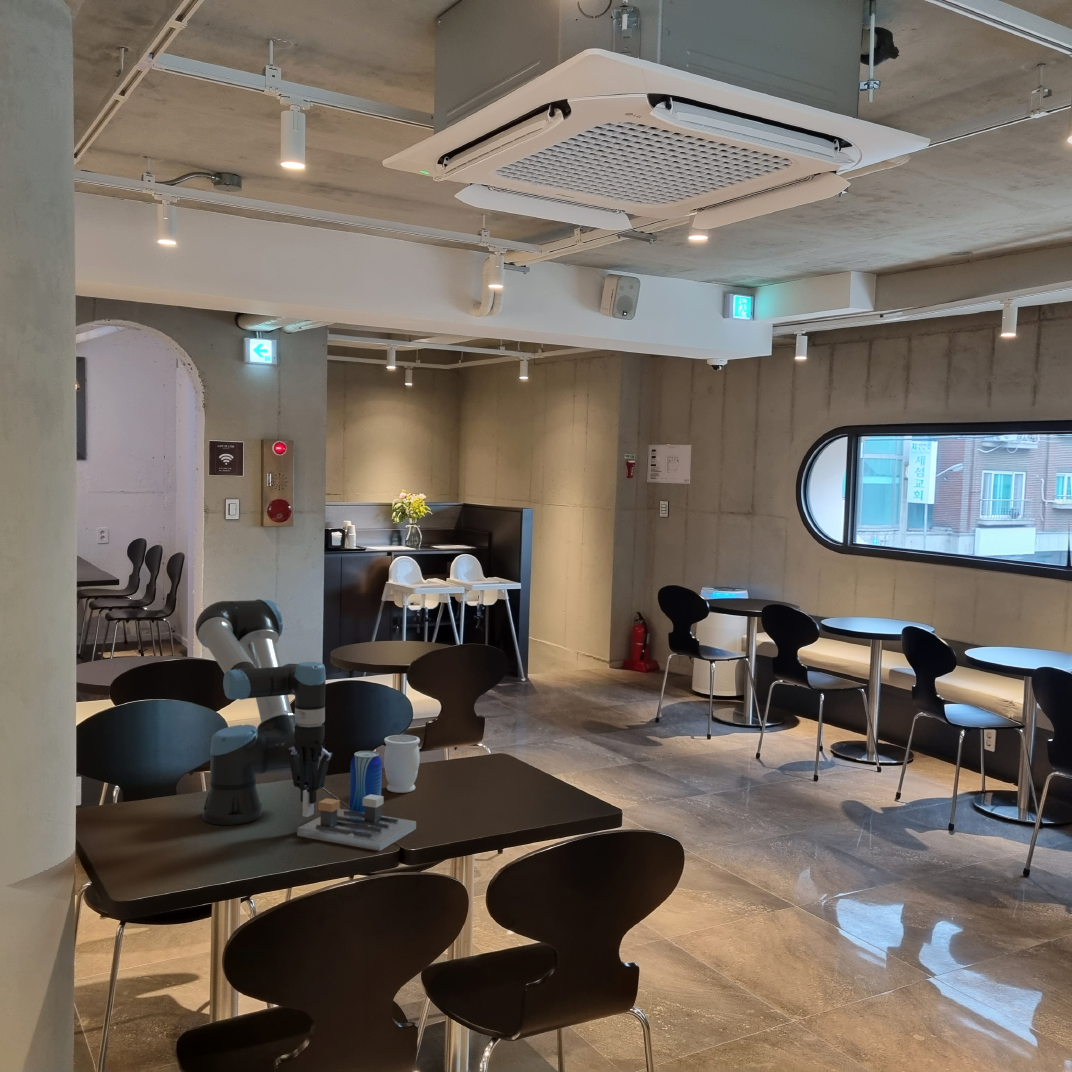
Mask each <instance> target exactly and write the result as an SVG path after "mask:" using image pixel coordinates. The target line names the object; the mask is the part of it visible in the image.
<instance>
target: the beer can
mask: <svg viewBox="0 0 1072 1072" xmlns="http://www.w3.org/2000/svg"><path fill="white" fill-rule="evenodd" d="M353 755H354V756H353V757H352V759H351V761H350V773H349V774H350V775H349V810H351V811H357V812H363V813H365V806H363V798H364V797H366V796H368V795H370V794H372V795H378V796H382V776H383V775H382V773H383V772H382V770H383V769H382V768H383V761H382V759H381V758H380V754H379V752H378V751H373V750H359V751H357V752H354V754H353Z"/></svg>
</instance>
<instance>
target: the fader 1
mask: <svg viewBox="0 0 1072 1072" xmlns="http://www.w3.org/2000/svg"><path fill="white" fill-rule="evenodd" d="M337 809H341V800H340V799H335V798H328V797H326V798H324V799H322V800H320V801H318V810H319V811H320V817H321V823H320V825H324V826H330V827H332V826H334V825H336V824H337Z"/></svg>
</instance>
